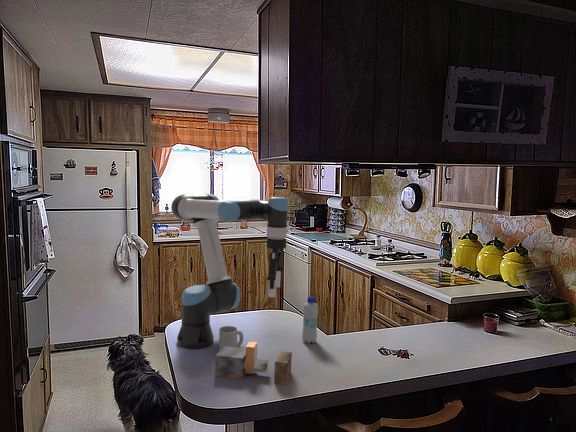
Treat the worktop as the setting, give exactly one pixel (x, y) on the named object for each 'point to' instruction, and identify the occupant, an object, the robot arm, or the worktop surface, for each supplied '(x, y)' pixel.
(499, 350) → the worktop surface
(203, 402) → the worktop surface
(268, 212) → the robot arm
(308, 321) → the bottle
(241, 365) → the sleeve and socket
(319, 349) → the worktop surface
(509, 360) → the worktop surface
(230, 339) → the cup
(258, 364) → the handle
